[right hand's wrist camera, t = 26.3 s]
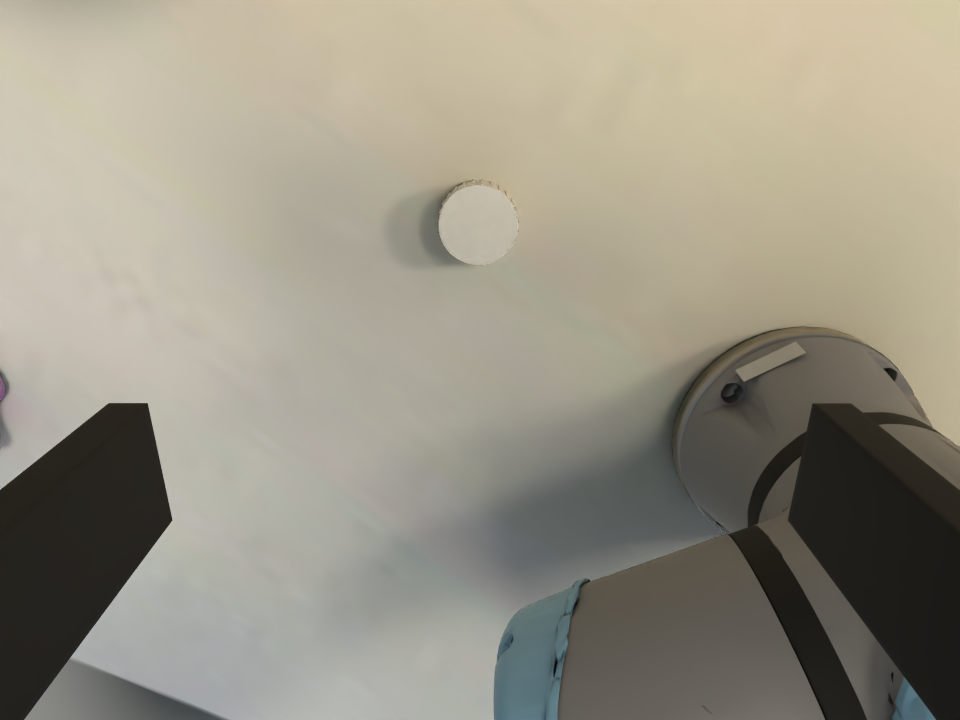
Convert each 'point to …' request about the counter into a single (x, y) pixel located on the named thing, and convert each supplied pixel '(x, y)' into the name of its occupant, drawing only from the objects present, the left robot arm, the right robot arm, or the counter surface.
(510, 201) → the lid
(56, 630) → the right robot arm
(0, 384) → the figurine
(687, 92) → the counter surface
